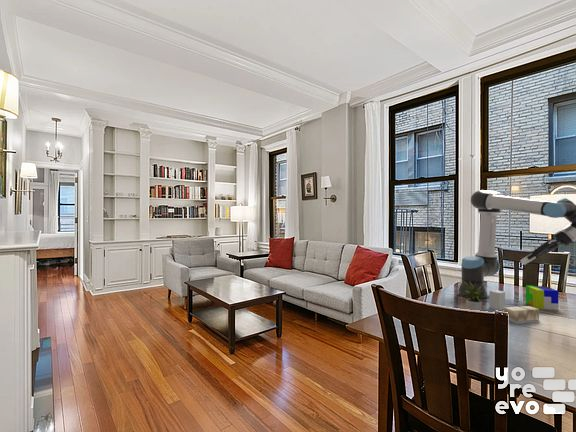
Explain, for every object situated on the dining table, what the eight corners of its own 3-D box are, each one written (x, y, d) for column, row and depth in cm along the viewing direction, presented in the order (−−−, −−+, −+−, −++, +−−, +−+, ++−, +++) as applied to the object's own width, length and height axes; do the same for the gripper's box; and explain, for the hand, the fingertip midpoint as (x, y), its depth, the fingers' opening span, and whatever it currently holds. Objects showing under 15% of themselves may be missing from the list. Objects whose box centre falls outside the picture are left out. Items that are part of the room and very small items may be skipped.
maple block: (529, 306, 149) (504, 307, 147) (539, 309, 144) (513, 310, 142) (529, 316, 149) (504, 317, 147) (539, 319, 144) (513, 321, 142)
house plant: (449, 309, 161) (449, 278, 161) (468, 306, 166) (468, 276, 166) (474, 317, 148) (474, 284, 148) (494, 314, 153) (494, 281, 152)
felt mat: (521, 315, 150) (521, 315, 150) (539, 322, 142) (539, 321, 142) (500, 317, 149) (500, 316, 149) (517, 323, 140) (517, 323, 140)
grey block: (489, 307, 164) (489, 290, 164) (495, 306, 166) (495, 289, 166) (499, 310, 159) (499, 293, 159) (505, 309, 161) (505, 292, 161)
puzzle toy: (558, 310, 159) (558, 290, 159) (536, 308, 161) (536, 290, 161) (546, 304, 169) (546, 286, 169) (525, 303, 171) (525, 285, 171)
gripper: (573, 237, 147) (526, 265, 155) (573, 245, 156) (529, 271, 164) (559, 226, 152) (514, 254, 160) (560, 234, 161) (518, 260, 169)
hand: (522, 262), depth 162 cm, fingers closed
